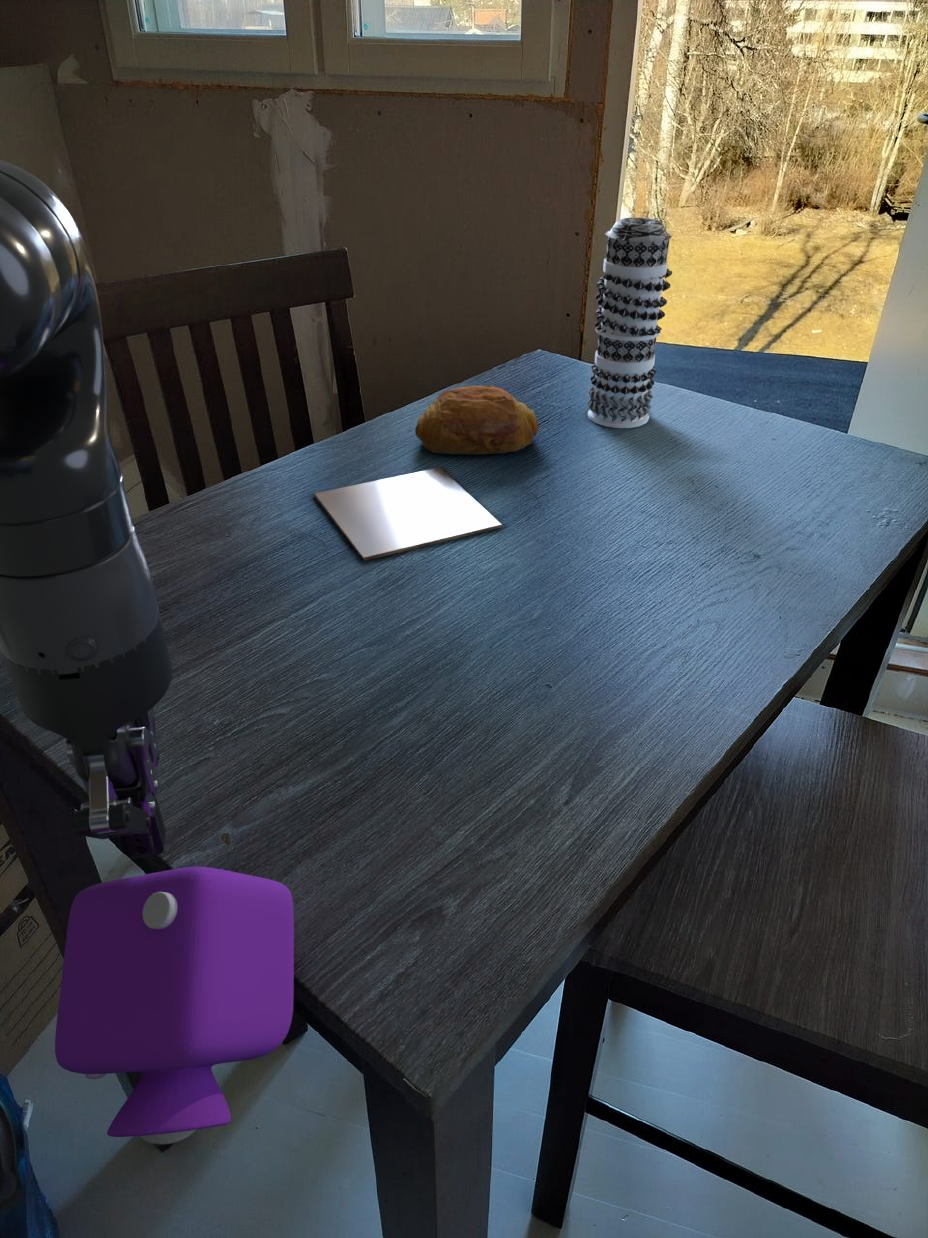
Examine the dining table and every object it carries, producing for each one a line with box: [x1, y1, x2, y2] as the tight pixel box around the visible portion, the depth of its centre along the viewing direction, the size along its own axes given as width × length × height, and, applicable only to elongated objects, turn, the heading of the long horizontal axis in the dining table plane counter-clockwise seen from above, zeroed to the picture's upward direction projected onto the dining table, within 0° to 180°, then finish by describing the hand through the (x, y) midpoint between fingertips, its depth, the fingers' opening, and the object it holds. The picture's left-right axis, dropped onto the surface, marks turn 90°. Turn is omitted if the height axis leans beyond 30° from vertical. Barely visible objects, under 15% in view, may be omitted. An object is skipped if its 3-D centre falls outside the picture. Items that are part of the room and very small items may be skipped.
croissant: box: [414, 384, 539, 455], centre depth 110 cm, size 14×16×8 cm
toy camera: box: [54, 866, 295, 1145], centre depth 46 cm, size 11×14×10 cm
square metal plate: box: [313, 466, 503, 562], centre depth 95 cm, size 16×16×1 cm
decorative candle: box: [587, 217, 673, 429], centre depth 111 cm, size 9×9×25 cm
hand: (147, 847), depth 52 cm, fingers closed
